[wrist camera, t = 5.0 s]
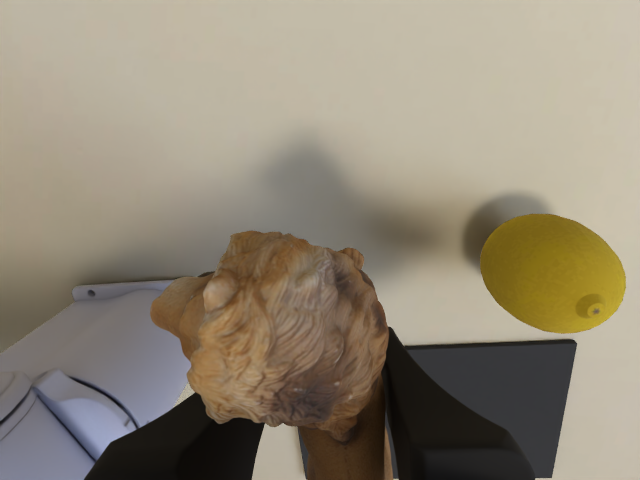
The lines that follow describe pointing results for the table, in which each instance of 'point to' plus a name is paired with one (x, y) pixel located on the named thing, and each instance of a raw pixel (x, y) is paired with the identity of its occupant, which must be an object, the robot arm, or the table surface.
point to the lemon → (552, 273)
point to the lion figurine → (289, 347)
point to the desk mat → (504, 390)
